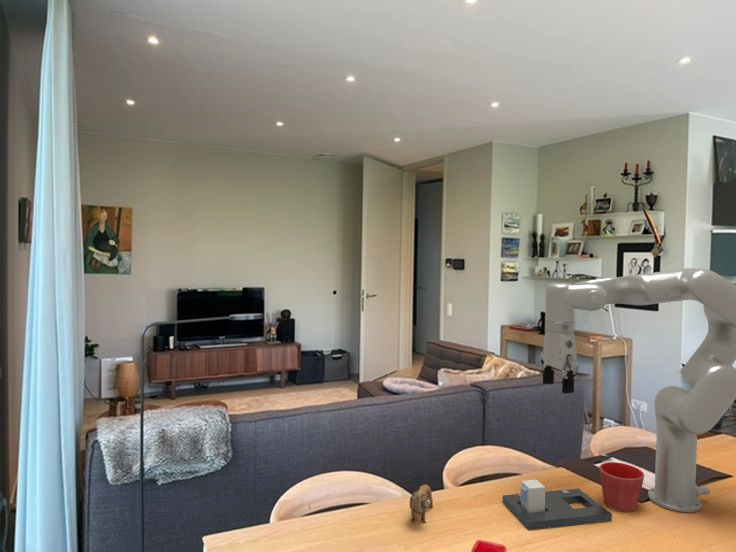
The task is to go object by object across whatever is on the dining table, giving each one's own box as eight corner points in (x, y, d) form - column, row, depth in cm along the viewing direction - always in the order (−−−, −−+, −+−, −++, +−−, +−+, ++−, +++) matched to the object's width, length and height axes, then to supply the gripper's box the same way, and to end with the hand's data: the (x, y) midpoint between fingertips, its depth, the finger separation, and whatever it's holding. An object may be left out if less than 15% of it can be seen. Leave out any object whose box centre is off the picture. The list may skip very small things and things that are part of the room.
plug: (535, 509, 134) (536, 479, 134) (544, 517, 130) (545, 487, 129) (517, 510, 133) (518, 481, 133) (526, 519, 129) (526, 488, 128)
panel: (578, 495, 142) (578, 487, 142) (611, 521, 128) (611, 512, 128) (502, 502, 137) (502, 494, 137) (528, 530, 124) (528, 521, 124)
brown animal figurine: (429, 532, 123) (430, 496, 122) (407, 529, 124) (408, 493, 123) (434, 503, 137) (434, 470, 137) (414, 501, 138) (415, 468, 138)
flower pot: (649, 517, 130) (650, 480, 130) (603, 512, 133) (604, 476, 132) (636, 498, 141) (637, 463, 140) (594, 494, 143) (595, 460, 143)
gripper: (590, 331, 133) (588, 396, 134) (554, 322, 150) (552, 379, 151) (565, 332, 131) (563, 397, 132) (531, 323, 148) (529, 381, 149)
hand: (557, 388), depth 141 cm, fingers open, 9 cm apart
